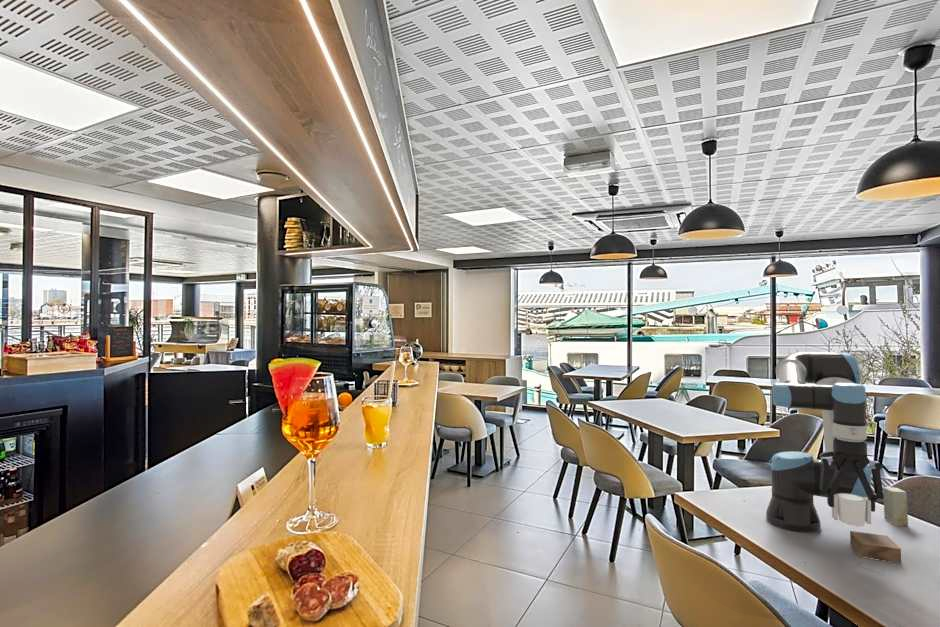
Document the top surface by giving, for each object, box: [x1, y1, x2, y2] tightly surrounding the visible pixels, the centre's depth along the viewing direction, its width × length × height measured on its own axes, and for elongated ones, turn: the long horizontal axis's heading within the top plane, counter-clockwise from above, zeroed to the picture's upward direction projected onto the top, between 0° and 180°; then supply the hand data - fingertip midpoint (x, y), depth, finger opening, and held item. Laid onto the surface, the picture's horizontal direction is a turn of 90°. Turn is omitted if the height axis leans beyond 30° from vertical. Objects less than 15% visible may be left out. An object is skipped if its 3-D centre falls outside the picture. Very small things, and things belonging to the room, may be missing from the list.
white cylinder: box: [836, 493, 867, 527], centre depth 135 cm, size 7×7×7 cm
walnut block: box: [849, 530, 902, 564], centre depth 140 cm, size 9×9×4 cm
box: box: [882, 486, 909, 527], centre depth 161 cm, size 5×4×11 cm
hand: (851, 520), depth 135 cm, fingers closed on white cylinder, 7 cm apart
